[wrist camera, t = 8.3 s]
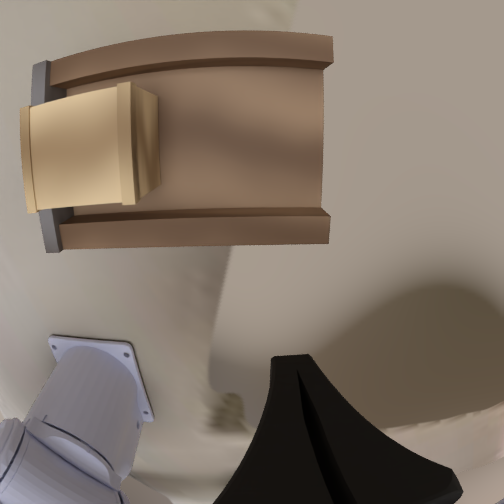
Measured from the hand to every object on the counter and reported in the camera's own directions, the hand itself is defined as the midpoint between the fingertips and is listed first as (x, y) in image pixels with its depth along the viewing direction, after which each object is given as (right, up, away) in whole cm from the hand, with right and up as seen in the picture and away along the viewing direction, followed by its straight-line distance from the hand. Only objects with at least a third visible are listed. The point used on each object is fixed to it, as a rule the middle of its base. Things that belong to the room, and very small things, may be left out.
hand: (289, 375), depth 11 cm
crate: (-9, +10, +5) cm, 15 cm away
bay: (-5, +11, +6) cm, 14 cm away
